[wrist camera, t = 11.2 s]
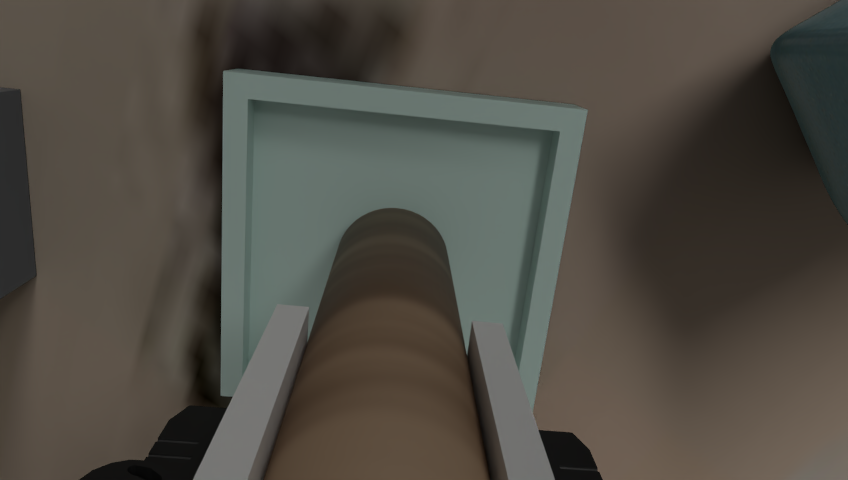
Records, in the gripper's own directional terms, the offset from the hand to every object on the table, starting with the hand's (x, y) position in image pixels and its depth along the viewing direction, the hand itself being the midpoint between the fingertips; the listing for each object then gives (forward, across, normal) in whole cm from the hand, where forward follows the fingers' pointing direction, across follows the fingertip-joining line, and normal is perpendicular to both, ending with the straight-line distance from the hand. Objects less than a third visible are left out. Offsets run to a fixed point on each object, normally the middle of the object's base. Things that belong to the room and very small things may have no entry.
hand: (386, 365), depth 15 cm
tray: (+9, 0, 0) cm, 9 cm away
